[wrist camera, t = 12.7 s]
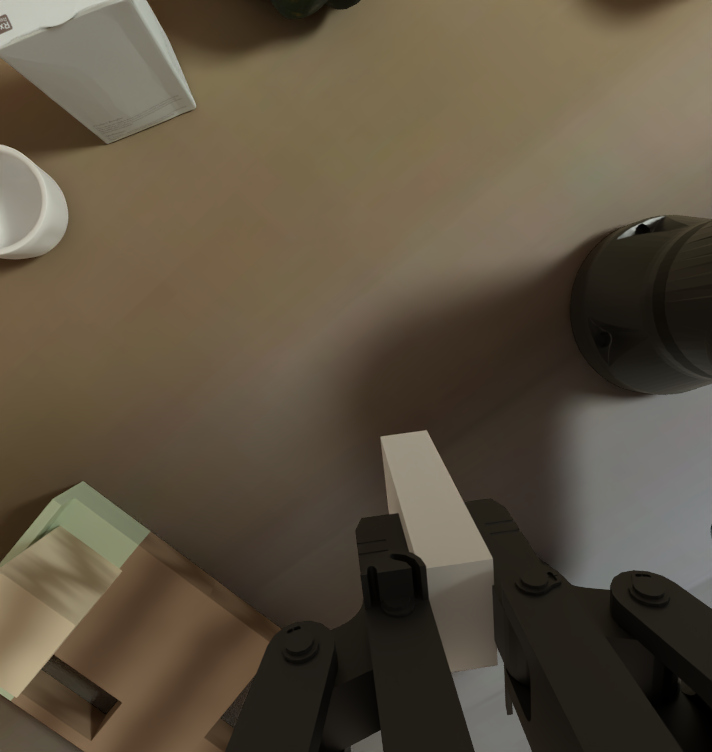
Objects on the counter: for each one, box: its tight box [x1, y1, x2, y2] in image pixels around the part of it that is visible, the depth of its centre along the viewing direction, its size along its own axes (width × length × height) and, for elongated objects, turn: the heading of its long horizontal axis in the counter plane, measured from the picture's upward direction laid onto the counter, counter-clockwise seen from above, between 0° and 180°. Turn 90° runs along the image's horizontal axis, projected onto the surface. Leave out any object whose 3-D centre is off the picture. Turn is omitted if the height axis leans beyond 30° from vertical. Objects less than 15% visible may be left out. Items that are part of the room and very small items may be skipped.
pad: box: [0, 481, 151, 701], centre depth 41 cm, size 7×16×5 cm, turn 141°
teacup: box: [0, 145, 68, 259], centre depth 39 cm, size 10×8×5 cm
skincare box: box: [0, 0, 196, 144], centre depth 35 cm, size 8×6×15 cm
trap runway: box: [11, 532, 281, 752], centre depth 44 cm, size 21×16×3 cm
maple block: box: [0, 526, 122, 698], centre depth 37 cm, size 6×6×8 cm
